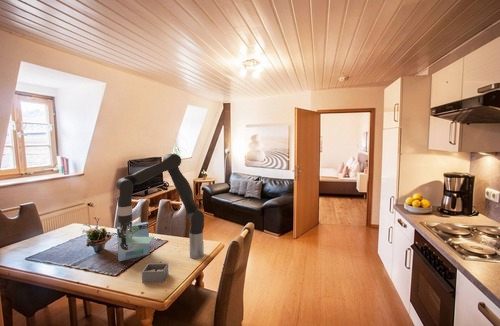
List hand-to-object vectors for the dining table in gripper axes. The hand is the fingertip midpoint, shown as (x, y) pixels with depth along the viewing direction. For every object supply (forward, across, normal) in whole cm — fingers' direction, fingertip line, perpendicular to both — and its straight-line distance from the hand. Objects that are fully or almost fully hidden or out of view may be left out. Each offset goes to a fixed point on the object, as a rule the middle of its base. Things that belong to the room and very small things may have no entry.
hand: (125, 242), depth 140 cm
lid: (-1, 0, -6) cm, 6 cm away
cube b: (+21, -1, -15) cm, 26 cm away
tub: (+22, -1, -17) cm, 28 cm away
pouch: (+22, +45, +15) cm, 53 cm away
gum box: (+22, +27, +6) cm, 36 cm away
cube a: (+21, -1, -20) cm, 29 cm away
